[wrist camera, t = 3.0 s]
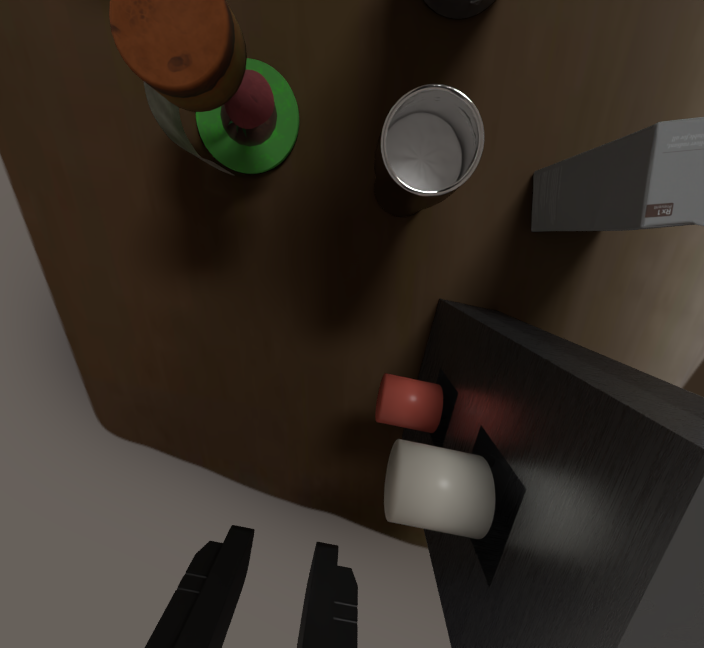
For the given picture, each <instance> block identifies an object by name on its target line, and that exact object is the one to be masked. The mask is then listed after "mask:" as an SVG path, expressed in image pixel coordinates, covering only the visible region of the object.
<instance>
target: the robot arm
mask: <svg viewBox="0 0 704 648" xmlns="http://www.w3.org/2000/svg"><path fill="white" fill-rule="evenodd" d="M424 1H425V2H426V4H427V5H428V6H429V7H430V8H431V9H433V10H434V11H435V12H436V13H438V14H440V15H443V16H445V17H448V18H454V19H460V18H468V17H471V16H474V15H477V14H478V13H480V12H482V11H484V10H485V9H486V8H487V7H489V6H490V5H491V4H492V3H493V2H494V1H495V0H424ZM253 537H254V529H250V528H246V527H241V526H235V525H232V526H231V528H230V530H229V532H228V534H227V536H226V538H225V540H224V543H218V542H214V541H209V542H208V543H207V544H206V545H205V546H204V547H203V548H202V549H201V550H200V551H198V552H197V553H196V554H195V556H194V558H193V560H192V562H191V563H190V565H189V567H188V569H187V571H186V574H185V575H184V576H183V578H182V580H181V582H180V584H179V586H178V588H177V590H176V591H175V593H174V595H173V597H172V599H171V600H170V602H169V604H168V606H167V608H166V609H165V611H164V613H163V615H162V617H161V619H160V620H159V622H158V624H157V626H156V628H155V630H154V632H153V634H152V635H151V637H150V639H149V641H148V643H147V645H146V646H145V648H222V645H223V642H224V640H225V637H226V634H227V631H228V628H229V625H230V622H231V619H232V617H233V613H234V611H235V608H236V605H237V602H238V599H239V596H240V594H241V591H242V588H243V584H244V581H245V578H246V574H247V570H248V565H249V560H250V554H251V548H252V542H253ZM337 561H338V546H337V545H332V544H327V543H322V542H317V543H316V547H315V551H314V556H313V560H312V565H311V569H310V573H309V578H308V583H307V588H306V594H305V599H304V605H303V612H302V618H301V624H300V631H299V637H298V643H297V648H357V614H358V611H357V605H358V598H357V597H358V586H357V583H356V580H355V577H354V574H353V572H352V569H351V568H347V567H342V566H337Z"/></svg>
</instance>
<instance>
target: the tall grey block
mask: <svg viewBox="0 0 704 648" xmlns="http://www.w3.org/2000/svg"><path fill="white" fill-rule="evenodd" d="M418 380H420V381H425V382H430V383H435V384H439V385H440V386H441V388H442V391H443V409H442V415H441V419H440V423H439V425H438V427H437V429H436V431H435V432H434V433H428V432H423V431H419V430H414V429H409V428H404V432H403V435H402V438H403V440H406V441H411V442H416V443H421V444H426V445H431V446H436V447H441V448H446V449H451V450H455V451H460V452H465V453H470V454H475V455H480V456H482V457H483V458H484V459H485V460H486V461H487V462H488V464H489V466H490V469H491V472H492V475H493V479H494V485H495V511H494V517H493V521H492V524H491V527H490V529H489V531H488V533H487V534H486V536H485V537H483V538H482V539H474V538H469V537H464V536H459V535H454V534H449V533H444V532H439V531H434V530H429V529H424V532H425V536H426V541H427V545H428V549H429V553H430V558H431V562H432V566H433V571H434V574H435V579H436V583H437V588H438V592H439V596H440V600H441V605H442V608H443V613H444V618H445V622H446V626H447V630H448V635H449V639H450V643H451V648H704V398H703V397H701V396H699V395H697V394H694V393H691V392H689V391H687V390H685V389H682V388H680V387H678V386H675V385H673V384H670V383H668V382H666V381H663V380H661V379H659V378H656V377H654V376H651V375H649V374H647V373H644V372H642V371H639V370H637V369H635V368H632V367H630V366H628V365H625V364H623V363H620V362H618V361H616V360H613V359H611V358H608V357H606V356H604V355H601V354H599V353H597V352H594V351H592V350H589V349H587V348H585V347H582V346H580V345H578V344H575V343H573V342H570V341H568V340H566V339H563V338H561V337H558V336H556V335H554V334H551V333H549V332H547V331H544V330H542V329H539V328H537V327H535V326H532V325H530V324H528V323H525V322H523V321H520V320H518V319H516V318H513V317H511V316H508V315H506V314H504V313H501V312H499V311H495V310H490V309H485V308H481V307H476V306H472V305H467V304H462V303H458V302H453V301H448V300H444V299H439V303H438V306H437V310H436V314H435V317H434V321H433V325H432V328H431V332H430V336H429V340H428V343H427V347H426V351H425V354H424V358H423V362H422V365H421V369H420V373H419V376H418Z"/></svg>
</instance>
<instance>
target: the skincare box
mask: <svg viewBox="0 0 704 648" xmlns="http://www.w3.org/2000/svg"><path fill="white" fill-rule="evenodd" d="M694 224H696V225H702V226H704V117H700V118H690V119H681V120H672V121H664V122H658V123H656V124H655V125H652V126H650V127H647V128H645V129H642V130H640V131H637V132H635V133H632V134H630V135H627V136H625V137H622V138H620V139H617V140H615V141H612V142H610V143H607V144H604V145H602V146H599V147H597V148H594V149H592V150H589V151H586V152H584V153H581V154H579V155H576V156H574V157H571V158H568V159H566V160H563V161H561V162H558V163H556V164H553V165H550V166H548V167H545V168H542V169H540V170H537V171H535V172H534V181H533V205H532V226H531V230H532V232H540V231H622V230H638V229H650V228H661V227H672V226H683V225H694Z"/></svg>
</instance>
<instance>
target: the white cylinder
mask: <svg viewBox="0 0 704 648" xmlns="http://www.w3.org/2000/svg"><path fill="white" fill-rule="evenodd" d="M384 509H385V516H386V519H387V521H389V522H393V523H398V524H403V525H409V526H414V527H419V528H424V529H429V530H434V531H439V532H444V533H449V534H454V535H459V536H464V537H469V538H474V539H482V538H483V537H485V536H486V534H487V533H488V531H489V529H490V527H491V524H492V521H493V517H494V511H495V485H494V479H493V475H492V472H491V469H490V466H489V464H488V462H487V461H486V460H485V459H484V458H483V457H482V456H480V455H475V454H470V453H465V452H460V451H455V450H451V449H446V448H441V447H436V446H431V445H426V444H421V443H416V442H411V441H406V440H402V439H397V440H396V441H395V443H394V445H393V447H392V450H391V453H390V456H389V461H388V465H387V471H386V478H385V489H384Z"/></svg>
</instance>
